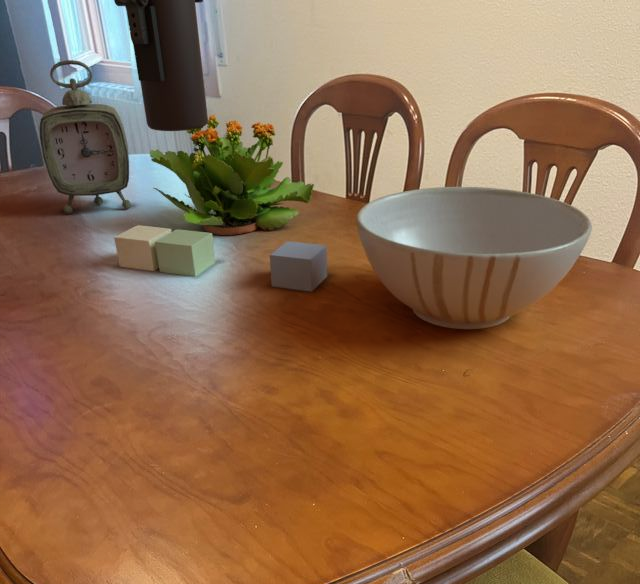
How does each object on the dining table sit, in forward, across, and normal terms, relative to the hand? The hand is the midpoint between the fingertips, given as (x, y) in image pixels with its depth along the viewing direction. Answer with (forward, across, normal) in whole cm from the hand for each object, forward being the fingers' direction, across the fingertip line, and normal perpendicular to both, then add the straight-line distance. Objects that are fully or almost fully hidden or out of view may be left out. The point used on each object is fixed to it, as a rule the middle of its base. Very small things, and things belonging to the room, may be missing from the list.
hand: (171, 75), depth 71 cm
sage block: (+27, +11, +9) cm, 31 cm away
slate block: (+27, +11, -9) cm, 31 cm away
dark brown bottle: (+5, 0, 0) cm, 5 cm away
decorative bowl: (+27, +10, -32) cm, 43 cm away
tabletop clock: (+27, +35, +43) cm, 62 cm away
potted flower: (+27, +31, +13) cm, 43 cm away
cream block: (+27, +11, +16) cm, 33 cm away
